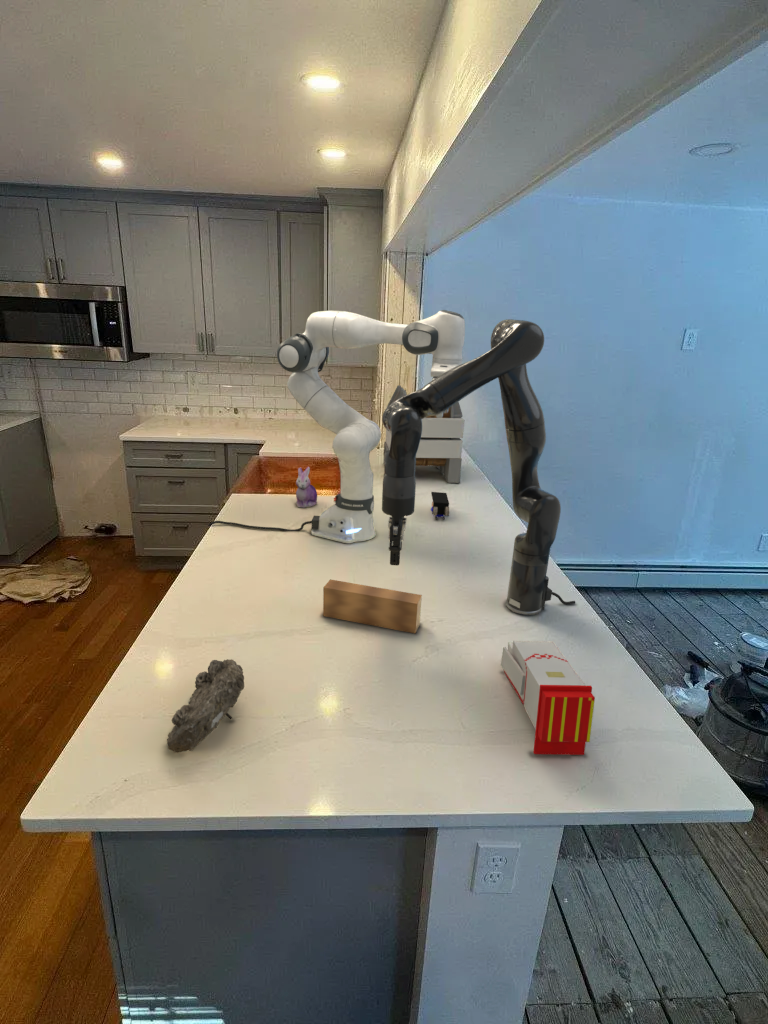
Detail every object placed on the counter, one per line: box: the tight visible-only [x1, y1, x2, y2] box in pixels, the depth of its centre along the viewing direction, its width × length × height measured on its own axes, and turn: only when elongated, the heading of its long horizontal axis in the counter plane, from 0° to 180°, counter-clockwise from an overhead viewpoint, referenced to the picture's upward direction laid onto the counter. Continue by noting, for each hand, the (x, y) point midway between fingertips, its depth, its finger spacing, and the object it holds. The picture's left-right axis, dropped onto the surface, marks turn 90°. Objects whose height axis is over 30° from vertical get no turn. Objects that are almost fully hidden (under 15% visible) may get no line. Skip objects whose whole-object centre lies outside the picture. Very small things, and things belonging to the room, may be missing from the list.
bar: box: [322, 579, 423, 634], centre depth 143 cm, size 24×5×8 cm, turn 74°
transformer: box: [383, 384, 465, 484], centre depth 268 cm, size 34×33×41 cm
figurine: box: [295, 466, 318, 508], centre depth 222 cm, size 9×10×15 cm
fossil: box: [166, 658, 245, 754], centre depth 106 cm, size 22×10×15 cm
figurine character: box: [430, 491, 450, 521], centre depth 218 cm, size 7×8×15 cm
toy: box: [500, 640, 596, 756], centre depth 114 cm, size 12×13×30 cm
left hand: (442, 415), depth 173 cm, fingers open, 8 cm apart
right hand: (396, 557), depth 135 cm, fingers open, 8 cm apart
